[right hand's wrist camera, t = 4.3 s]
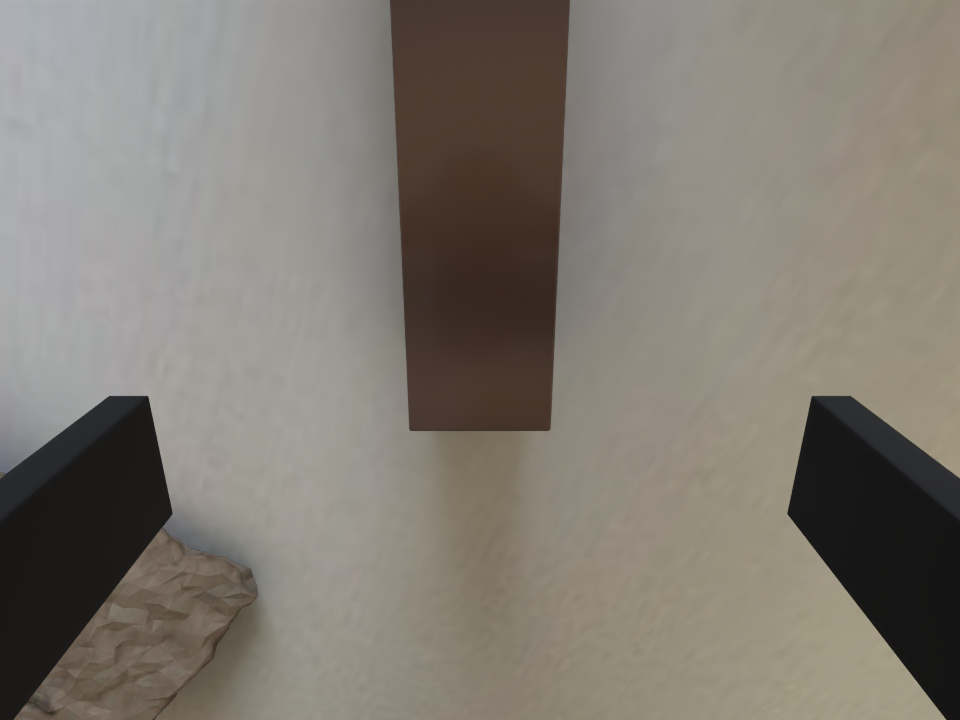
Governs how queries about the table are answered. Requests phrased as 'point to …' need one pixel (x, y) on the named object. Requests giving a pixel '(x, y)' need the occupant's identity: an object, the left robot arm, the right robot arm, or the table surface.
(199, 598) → the stone
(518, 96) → the walnut beam
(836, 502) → the right robot arm
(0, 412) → the table surface
